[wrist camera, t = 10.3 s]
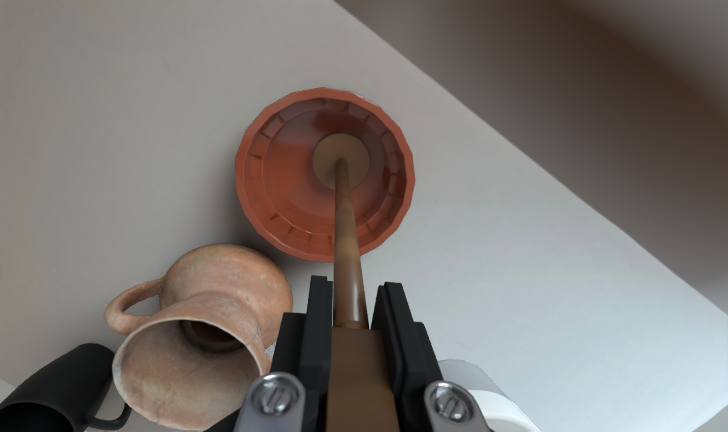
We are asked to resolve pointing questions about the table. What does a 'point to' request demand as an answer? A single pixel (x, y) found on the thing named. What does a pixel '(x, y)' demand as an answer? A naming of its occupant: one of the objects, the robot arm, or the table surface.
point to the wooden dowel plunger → (352, 304)
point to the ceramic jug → (199, 335)
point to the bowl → (487, 397)
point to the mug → (64, 395)
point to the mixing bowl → (301, 186)
